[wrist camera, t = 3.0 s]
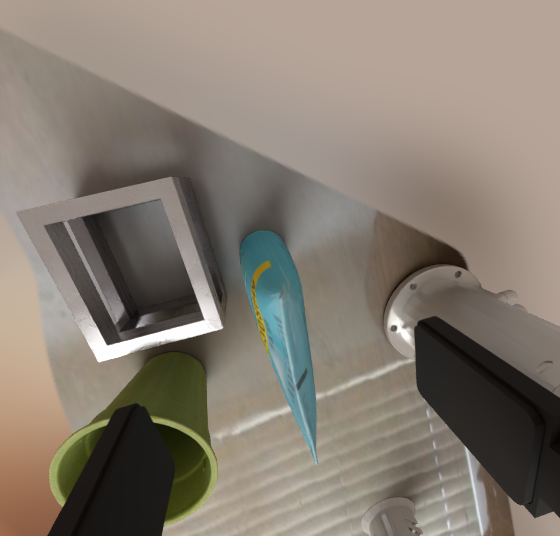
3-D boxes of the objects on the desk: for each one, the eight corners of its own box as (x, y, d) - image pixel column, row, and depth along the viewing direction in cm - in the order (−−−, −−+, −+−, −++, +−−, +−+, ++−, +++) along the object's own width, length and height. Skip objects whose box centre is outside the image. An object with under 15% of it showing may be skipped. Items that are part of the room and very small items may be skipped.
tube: (229, 226, 26) (200, 324, 8) (275, 212, 26) (352, 274, 8) (252, 291, 28) (271, 482, 10) (294, 278, 29) (386, 440, 10)
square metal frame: (189, 178, 24) (171, 176, 18) (227, 297, 28) (223, 328, 22) (74, 205, 23) (15, 212, 17) (130, 322, 27) (98, 362, 21)
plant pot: (229, 333, 29) (222, 416, 19) (222, 415, 33) (213, 526, 22) (115, 328, 27) (36, 419, 17) (120, 417, 31) (56, 539, 20)
